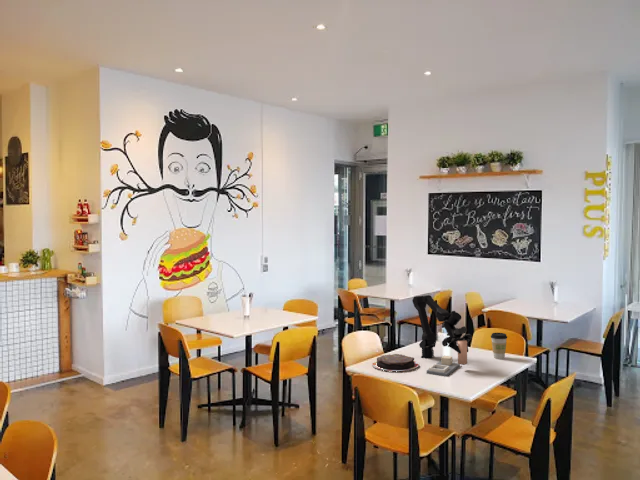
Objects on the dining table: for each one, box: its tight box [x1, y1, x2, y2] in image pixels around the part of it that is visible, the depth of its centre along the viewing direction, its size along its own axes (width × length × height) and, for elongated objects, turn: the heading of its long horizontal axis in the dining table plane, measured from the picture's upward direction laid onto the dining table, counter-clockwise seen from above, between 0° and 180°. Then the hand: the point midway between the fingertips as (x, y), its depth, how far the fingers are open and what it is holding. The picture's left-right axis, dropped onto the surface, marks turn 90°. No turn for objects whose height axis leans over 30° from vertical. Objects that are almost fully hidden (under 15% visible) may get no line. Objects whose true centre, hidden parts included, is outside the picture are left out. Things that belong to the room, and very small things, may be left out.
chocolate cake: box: [371, 353, 420, 373], centre depth 315 cm, size 28×28×7 cm
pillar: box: [457, 340, 468, 366], centre depth 302 cm, size 5×5×13 cm
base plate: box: [426, 355, 461, 377], centre depth 305 cm, size 12×23×6 cm, turn 148°
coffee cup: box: [490, 332, 508, 360], centre depth 326 cm, size 10×10×15 cm
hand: (464, 352), depth 301 cm, fingers closed on pillar, 5 cm apart
